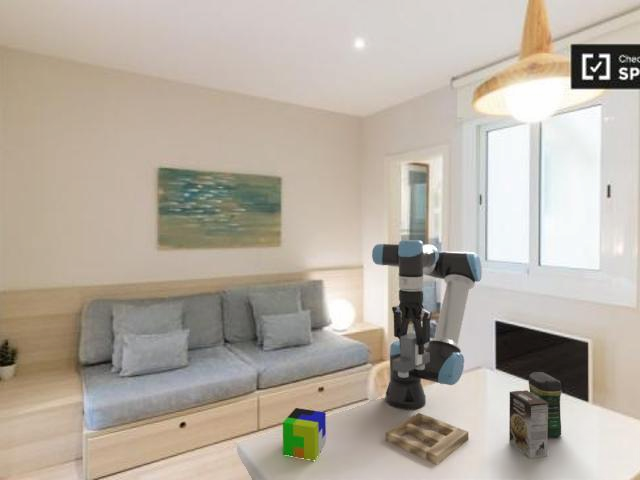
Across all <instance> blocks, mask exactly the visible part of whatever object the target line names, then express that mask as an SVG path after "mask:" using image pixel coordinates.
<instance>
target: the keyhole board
mask: <svg viewBox="0 0 640 480" xmlns="http://www.w3.org/2000/svg"><path fill="white" fill-rule="evenodd" d="M421 424H422V425H425V426H427V427H429V428H432V429H434V430H437V431H438V432H437V431H434V430H431V429H430V430H427V429H425V428H423V427H420V425H421ZM406 434H408V435H410V436H412V437H415V438H417V439H419V440H422V442H423V443H424V444H423V443H421V442H418V441H416V440H413V441H412V440H410V439H408V438H405V437H403V435H406ZM384 435H385V436H384V437H385V441H386V442H388V443H390V444H392V445H394V446H396V445H397V446H396V447H398V448H401V449H403V450H405V451H407V452H409V453H411V454H413V455H416V456H418V457H420V458H423V459H424V460H426V461H429V462H430V463H432V464H435V465H439V464H440V462H442V461H443V460H444V459H446V458H447V457H449V456H450V455H451V454H452V453H453V452H454V451H456V450H457V449H458V448H460V447H461V446H462V445H463V444H465V443H466V442H467V441H468V440H469V431H467V430H466V429H463V428H460V427H457V426H455V425H451V424H449V423H447V422H444V421H441V420H438V419H435V418H434V417H431V416H429V415H426V414H423V413H420V412H418V413H416V414H414V415H413V416H411V417H409V418H408V419H406V420H404V421H402V422H400V424H397V425H396V426H394V427H392V428H390V429H389V430H387V431H386V432H385V434H384ZM425 444H426V445H425ZM427 445H429V446H427ZM430 446H431V447H430Z"/></svg>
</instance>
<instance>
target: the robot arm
mask: <svg viewBox="0 0 640 480" xmlns="http://www.w3.org/2000/svg"><path fill="white" fill-rule="evenodd" d="M371 251H372V252H371V253H372V254H371V257H372V261H373V263H374V264H375V265H377V266H378V265H379V266H389V267H395V268H398V288H399V290H398V300H399V304H398V305H396V306H395V305H394V306H392V307H391V310H392V313H393V336H394V337H395V338H397V339H398V340H397V341H394V342H392V343H391V345H390V348H389V349H390V351H389V382H388V384H387V385H388V386H387V389H386V392H385V401H386V403H387V404H388V405H390V406H392V407H394V408H397V409H402V410H416V409H417V410H418V409H420V408H422V407H423V408H424V406H425V405H426V402H427V401H426V397H427V396H426V394H425V392H424V387H423V384H422V380H426V381H429V382H433V383H438V384H440V385H448V386H453V385H456V384H457V383H458V382H459V381H460V379H461V377H462V374H463V372H464V369H465V368H464V366H465V357H464V355H463V354H462V353H461V348H460V346H459V345H458V344H459V339H460V335H461V330H462V325H463V321H464V317H465V316H464V315H465V310H466V307H467V306H466V305H467V301H468V297H469V291H470V290H471V289H473V288H474V286H475V284H476V283H477V282H481V280H482V273H483V272H482V271H483V270H482V263H481V259H480V257H479V254H477V253H476V252H472V251H471V252H469V251H438V249H437V247H435V246H434V245H432V244H429V243H423V241H422V240H419V239H414V240H413V239H409V240H408V239H407V240H401V241H399V243H398V244H393V243H392V244H391V243H387V244H386V243H380V244H379V243H378V244H376V245H374V246H373V248H372V250H371ZM424 275H425V276H428V277H430V278H431V277H432V278H435V279H441V280H443V281H444V283H445V284H446V287H445V291H444V295H443V300H442V304H441V308H440V312H439V315H438V321H437V325H436V329H435V333H434V337H433V338H432V339H431V318H432V314H433V313H432V311H430V310H426V309H425V307H424V304H423V303H424V290H423V289H424ZM410 320H411V322H412V324H413V328H414V334H416V339H417V343H416V344H415V365H419V364H422V354H424V350H425V352H429V353H430V362H428V363H426V364H425V369H424V370H417V369H413V370H411V371H409V376H408V377H406V378H402V377H399V376H398V371H395V370H393V365H392V360H394V359H396V358H399V357H401V351H400V337H401V336H403V335H406V334H408V329H409V324H410ZM427 343H428V344H427ZM426 344H427V346H425V345H426Z"/></svg>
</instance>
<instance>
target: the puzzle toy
mask: <svg viewBox="0 0 640 480" xmlns="http://www.w3.org/2000/svg"><path fill="white" fill-rule="evenodd" d="M326 414H327V413H326V412H325V411H319V410H313V409H305V408H300V407H299V408H298V407H295V408H294V409H293V410H292V412H290V414H289V415H288V416H287V417H286V418H285V420H283V421H282V453H283V454H284V455H289V456H293V457H298V458H304V459H310V460H316V461H317V459H318V458H317V456H318V455H320V454H321V453H320V451H321V450H322V451H323V449H324V448H323V447H325V446H326V444H327V441H326V440H327V435H326V433H327V430H326V429H327V428H326V427H327V426H326ZM325 443H326V444H325ZM324 445H325V446H324ZM322 448H323V449H322ZM322 451H321V452H322ZM319 453H320V454H319ZM283 454H282V455H283ZM293 457H292V458H293ZM318 457H319V456H318ZM298 458H297V459H298ZM316 458H317V459H316Z"/></svg>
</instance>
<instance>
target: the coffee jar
mask: <svg viewBox="0 0 640 480" xmlns="http://www.w3.org/2000/svg"><path fill="white" fill-rule="evenodd" d="M528 387H529V388H528V389H529V392H530V393H532V394H534V395H536V396H537V397H539V398H541V399H543V400H544V401H546V402H548V434H547V438H550V439H555V438H558V437H561V435H562V421H561V395H562V383H561V381H560V380H558V379H556V378H555V377H553V376H551V375H549V374H547V373H545V372H543V371H541V372H540V371H538V372H537V371H535V372H534V371H533V372H531V373H530V374H529V378H528Z"/></svg>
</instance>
